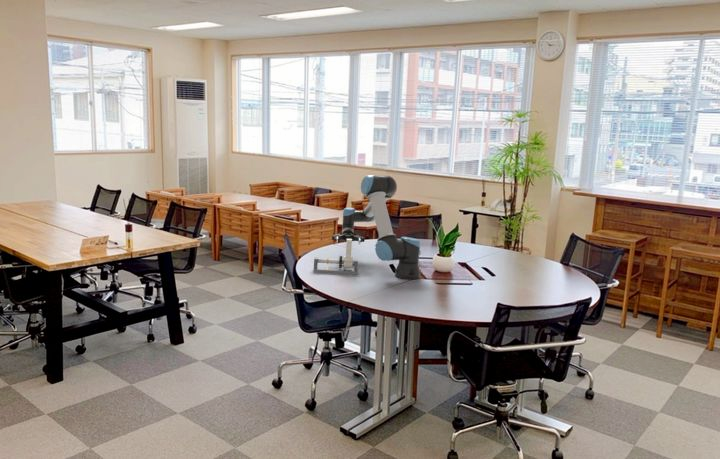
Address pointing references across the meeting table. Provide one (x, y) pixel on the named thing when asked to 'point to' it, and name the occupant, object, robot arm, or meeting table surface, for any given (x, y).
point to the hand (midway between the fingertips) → (348, 241)
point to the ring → (340, 262)
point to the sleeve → (348, 255)
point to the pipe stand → (334, 269)
